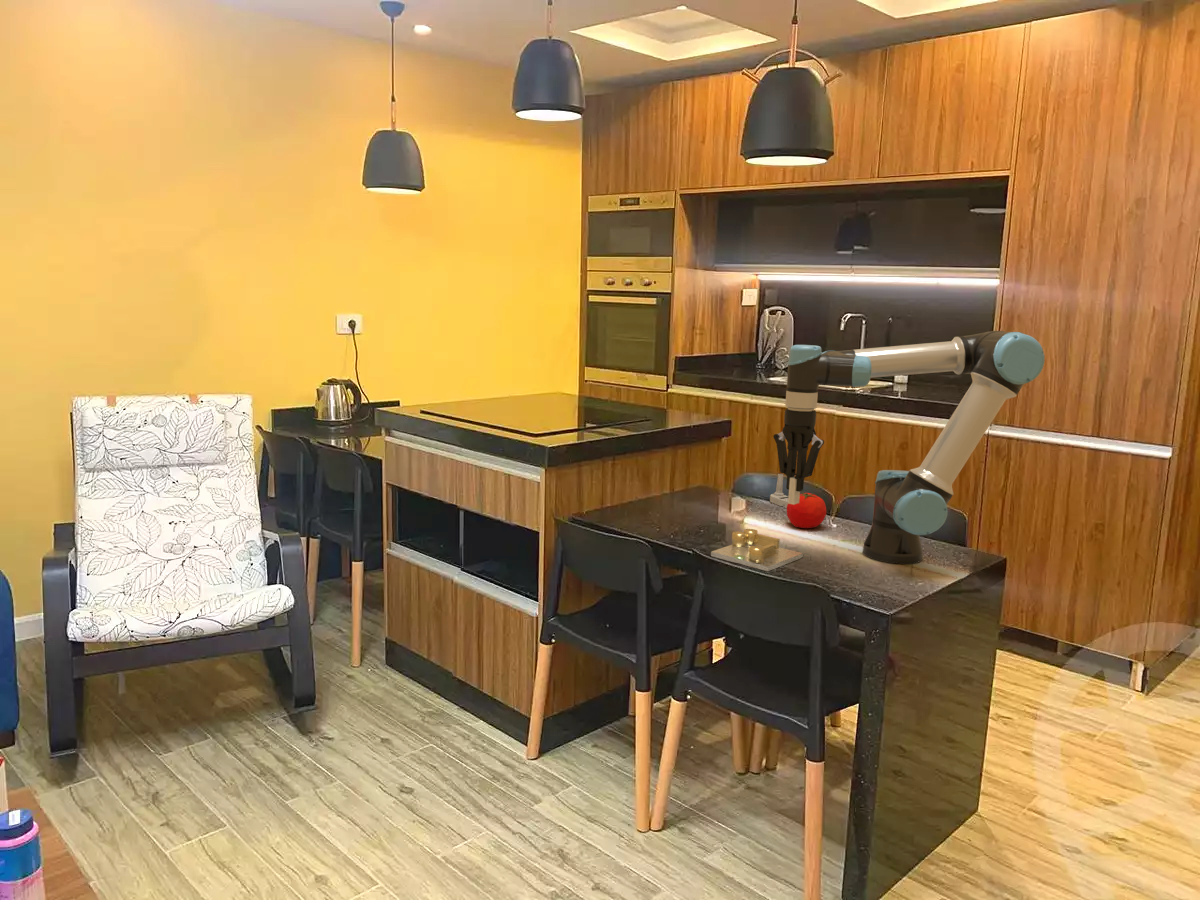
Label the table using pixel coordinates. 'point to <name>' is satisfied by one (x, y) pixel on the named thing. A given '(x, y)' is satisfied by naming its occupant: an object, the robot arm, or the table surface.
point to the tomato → (807, 511)
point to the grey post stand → (779, 493)
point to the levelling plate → (741, 554)
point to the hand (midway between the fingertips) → (793, 503)
